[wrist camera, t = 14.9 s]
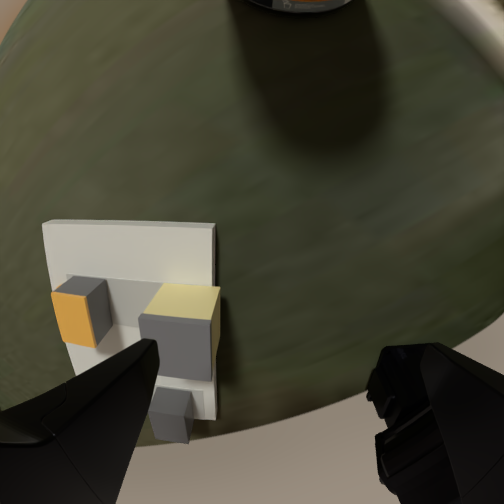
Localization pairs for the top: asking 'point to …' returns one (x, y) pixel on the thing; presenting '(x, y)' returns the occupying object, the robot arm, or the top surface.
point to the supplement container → (299, 7)
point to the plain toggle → (171, 415)
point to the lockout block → (184, 329)
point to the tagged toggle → (82, 310)
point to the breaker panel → (133, 281)
